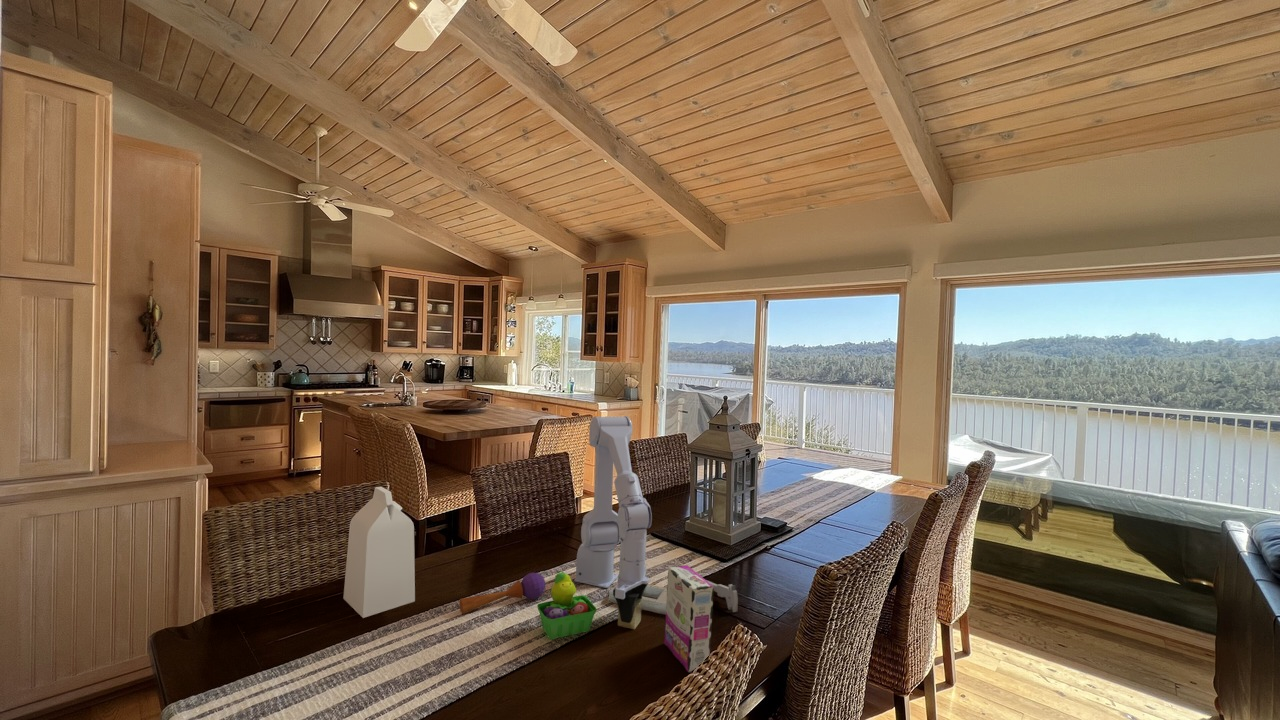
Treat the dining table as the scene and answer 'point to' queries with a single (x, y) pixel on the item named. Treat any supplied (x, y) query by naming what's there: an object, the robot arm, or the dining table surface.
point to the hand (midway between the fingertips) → (629, 616)
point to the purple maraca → (508, 593)
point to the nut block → (635, 618)
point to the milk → (380, 557)
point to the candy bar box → (688, 616)
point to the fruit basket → (565, 610)
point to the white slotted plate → (649, 603)
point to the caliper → (727, 595)
